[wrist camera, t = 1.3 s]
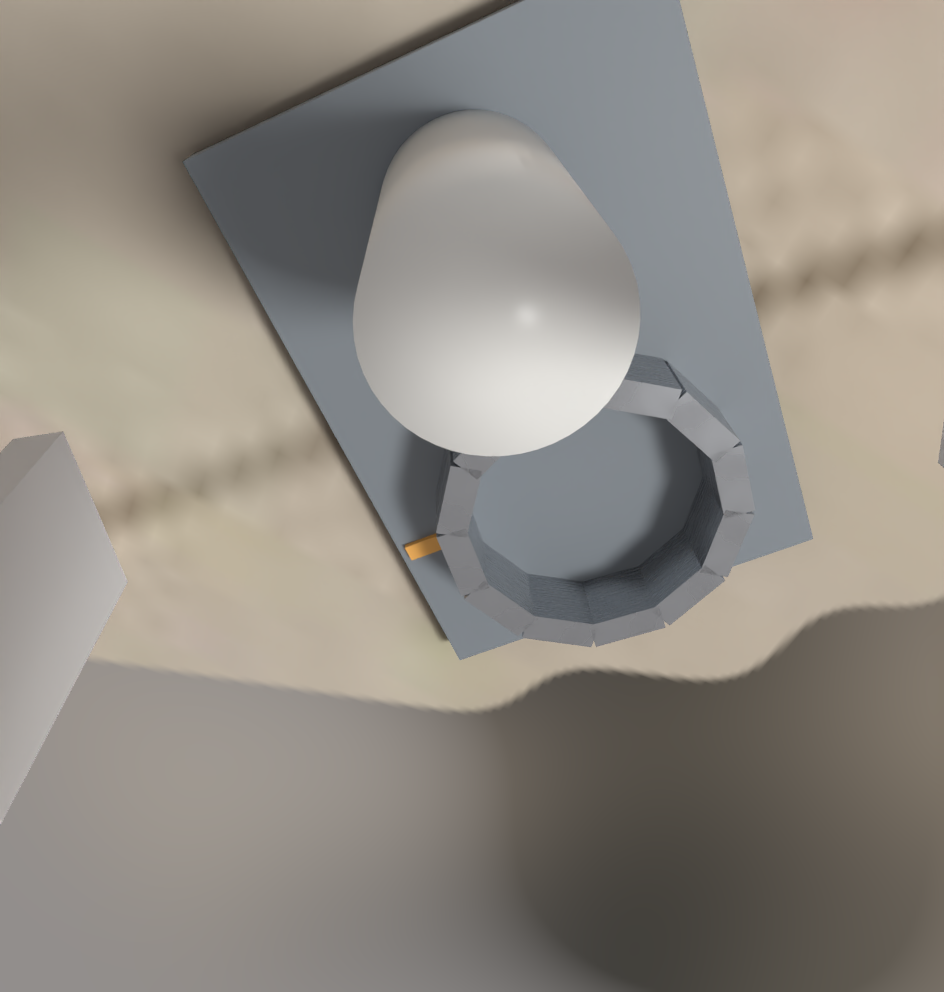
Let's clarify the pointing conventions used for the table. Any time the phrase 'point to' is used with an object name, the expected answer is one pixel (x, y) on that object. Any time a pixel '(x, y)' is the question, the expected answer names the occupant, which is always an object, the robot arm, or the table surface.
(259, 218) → the board
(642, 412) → the duct collar
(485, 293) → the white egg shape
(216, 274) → the table surface
